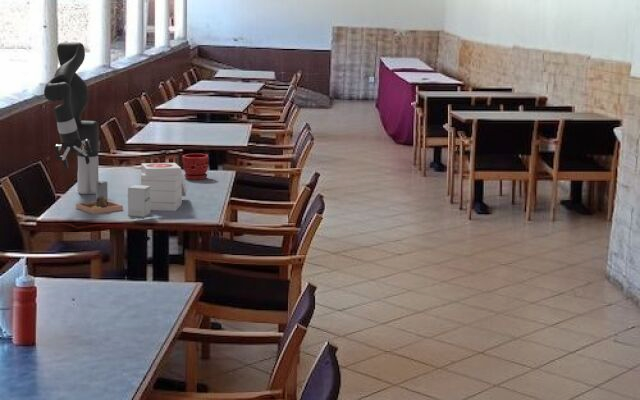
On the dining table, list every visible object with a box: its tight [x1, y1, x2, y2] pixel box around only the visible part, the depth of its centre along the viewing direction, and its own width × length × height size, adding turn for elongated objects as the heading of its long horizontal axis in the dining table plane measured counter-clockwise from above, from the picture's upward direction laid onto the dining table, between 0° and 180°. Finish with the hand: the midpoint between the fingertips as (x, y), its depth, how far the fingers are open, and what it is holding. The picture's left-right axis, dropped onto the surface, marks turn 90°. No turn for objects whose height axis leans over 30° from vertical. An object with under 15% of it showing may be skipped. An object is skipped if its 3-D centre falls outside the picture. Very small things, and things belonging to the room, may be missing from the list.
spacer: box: [95, 180, 109, 208], centre depth 426 cm, size 5×5×11 cm
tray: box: [75, 200, 124, 215], centre depth 424 cm, size 14×14×3 cm
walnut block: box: [80, 201, 94, 208], centre depth 423 cm, size 4×4×2 cm
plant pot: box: [181, 153, 210, 181], centre depth 510 cm, size 13×13×12 cm
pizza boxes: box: [140, 162, 188, 212], centre depth 442 cm, size 19×30×18 cm, turn 177°
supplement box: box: [127, 184, 151, 220], centre depth 415 cm, size 7×7×13 cm
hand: (77, 165), depth 420 cm, fingers open, 8 cm apart
